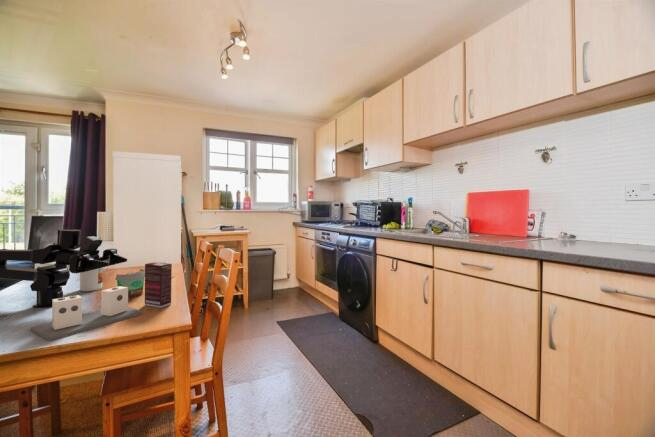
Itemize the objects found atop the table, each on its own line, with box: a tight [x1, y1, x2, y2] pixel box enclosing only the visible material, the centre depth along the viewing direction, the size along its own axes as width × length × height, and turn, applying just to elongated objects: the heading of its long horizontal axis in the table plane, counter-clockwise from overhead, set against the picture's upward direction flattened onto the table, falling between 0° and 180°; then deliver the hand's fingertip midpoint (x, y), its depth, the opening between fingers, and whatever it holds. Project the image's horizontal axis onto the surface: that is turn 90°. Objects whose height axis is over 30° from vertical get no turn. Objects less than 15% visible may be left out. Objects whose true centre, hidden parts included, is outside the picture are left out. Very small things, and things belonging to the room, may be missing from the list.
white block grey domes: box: [51, 294, 83, 330], centre depth 84 cm, size 4×6×8 cm
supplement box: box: [144, 261, 173, 309], centre depth 107 cm, size 9×5×16 cm, turn 71°
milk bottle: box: [79, 248, 104, 292], centre depth 125 cm, size 8×8×20 cm
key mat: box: [30, 306, 143, 342], centre depth 90 cm, size 24×13×1 cm, turn 152°
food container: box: [115, 269, 145, 299], centre depth 118 cm, size 12×6×10 cm, turn 168°
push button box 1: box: [100, 286, 129, 316], centre depth 95 cm, size 4×6×8 cm
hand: (118, 262), depth 105 cm, fingers open, 9 cm apart
